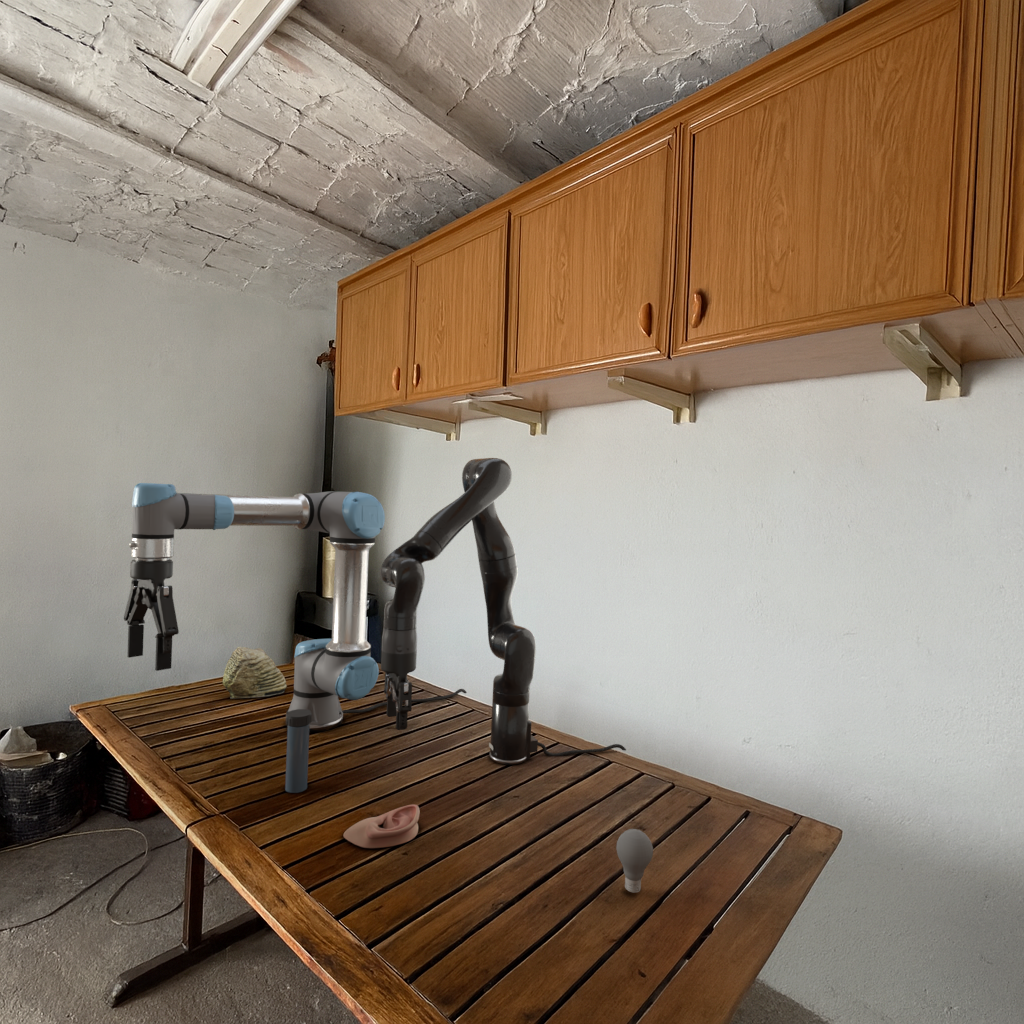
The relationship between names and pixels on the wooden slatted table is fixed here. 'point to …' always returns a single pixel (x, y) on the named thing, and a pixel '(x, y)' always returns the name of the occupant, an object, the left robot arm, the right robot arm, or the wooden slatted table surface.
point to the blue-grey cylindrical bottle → (297, 758)
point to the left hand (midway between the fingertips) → (148, 662)
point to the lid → (298, 718)
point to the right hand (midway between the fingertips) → (396, 722)
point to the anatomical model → (385, 828)
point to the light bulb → (634, 857)
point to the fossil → (252, 674)
